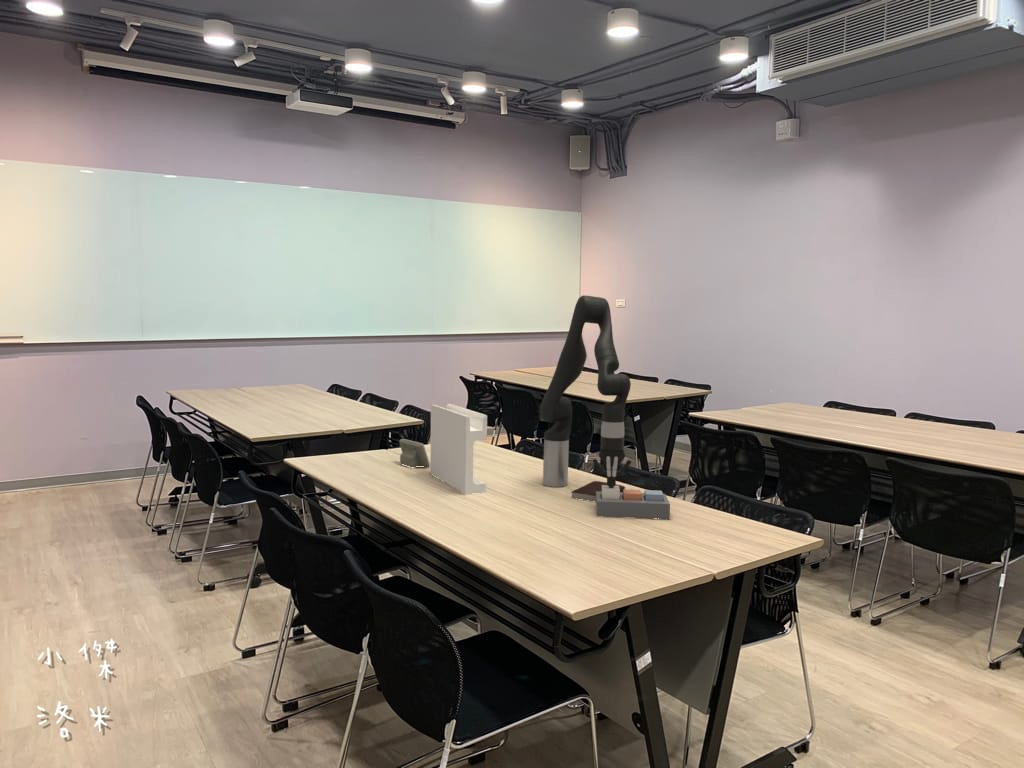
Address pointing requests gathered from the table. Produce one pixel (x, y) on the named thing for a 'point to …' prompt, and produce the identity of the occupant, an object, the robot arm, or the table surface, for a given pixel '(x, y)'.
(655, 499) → the key blue
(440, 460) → the block
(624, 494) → the key terracotta
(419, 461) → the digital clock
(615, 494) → the key white
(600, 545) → the table surface
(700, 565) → the table surface
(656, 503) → the console
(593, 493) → the book
